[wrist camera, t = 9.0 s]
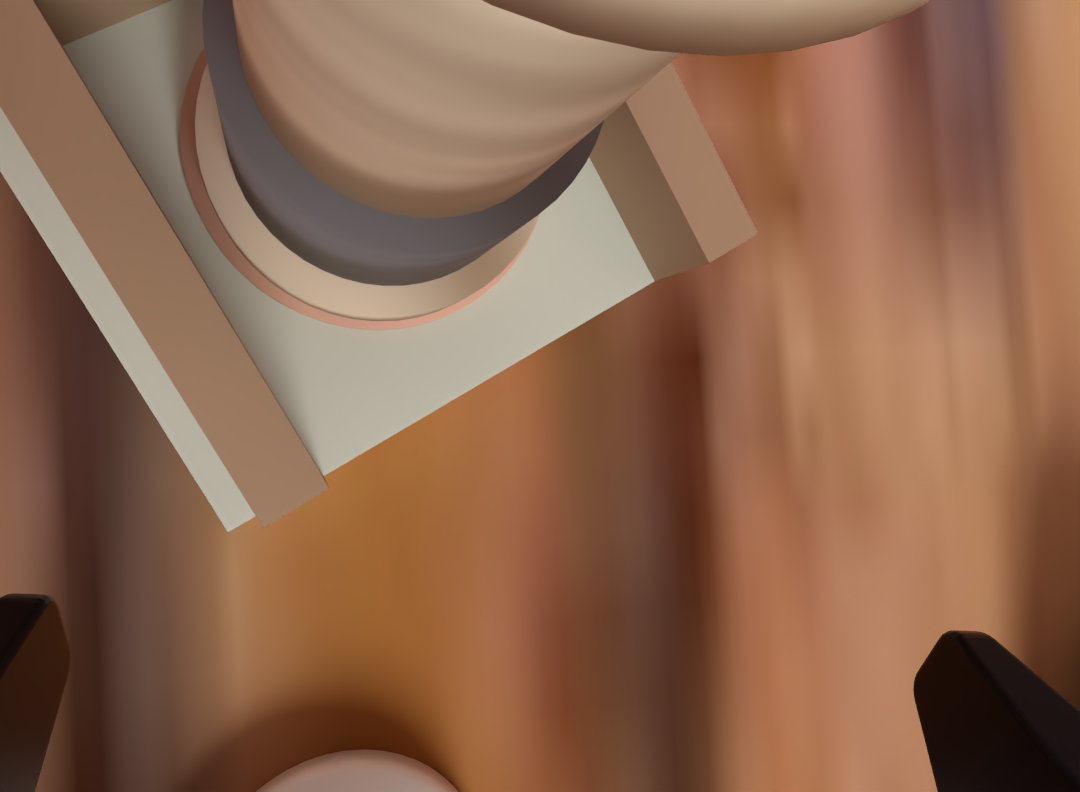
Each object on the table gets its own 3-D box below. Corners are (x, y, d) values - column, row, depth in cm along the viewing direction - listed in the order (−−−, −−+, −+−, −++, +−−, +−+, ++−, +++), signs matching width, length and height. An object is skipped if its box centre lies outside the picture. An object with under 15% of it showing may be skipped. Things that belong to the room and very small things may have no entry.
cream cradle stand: (233, 521, 17) (217, 554, 14) (-56, 62, 16) (-165, -46, 12) (695, 250, 20) (790, 214, 17) (485, -158, 19) (534, -299, 15)
